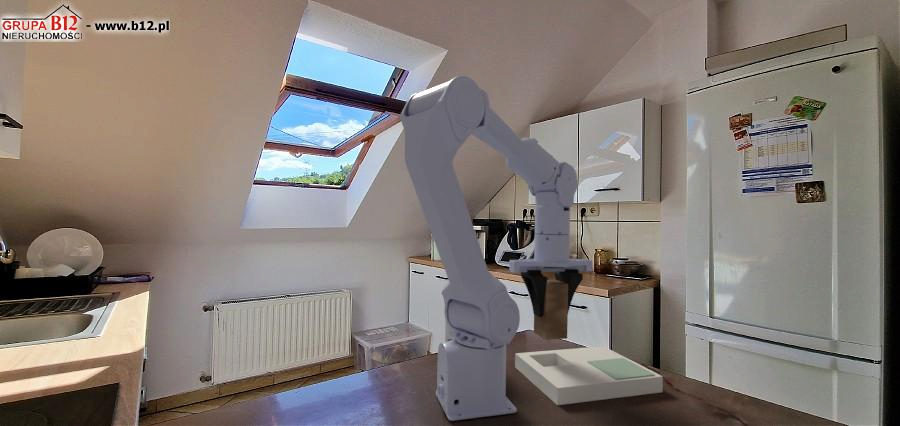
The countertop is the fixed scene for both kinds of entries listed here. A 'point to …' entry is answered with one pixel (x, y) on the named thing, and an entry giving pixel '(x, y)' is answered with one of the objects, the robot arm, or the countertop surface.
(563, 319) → the walnut block
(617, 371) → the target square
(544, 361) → the board
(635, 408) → the countertop surface
